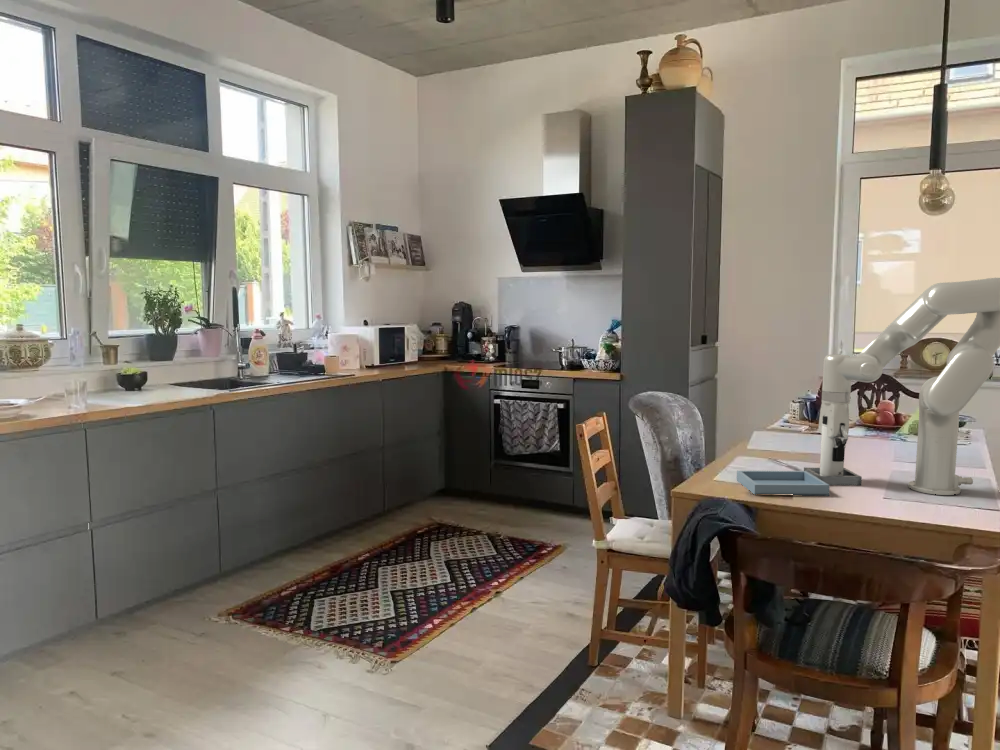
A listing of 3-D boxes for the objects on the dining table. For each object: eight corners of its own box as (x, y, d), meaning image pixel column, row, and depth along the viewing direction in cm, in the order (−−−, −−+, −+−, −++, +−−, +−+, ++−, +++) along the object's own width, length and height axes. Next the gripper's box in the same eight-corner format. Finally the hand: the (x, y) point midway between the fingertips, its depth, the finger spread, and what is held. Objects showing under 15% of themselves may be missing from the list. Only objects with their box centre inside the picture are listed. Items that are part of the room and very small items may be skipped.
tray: (805, 481, 216) (806, 471, 216) (829, 496, 200) (829, 485, 200) (736, 480, 217) (736, 470, 216) (754, 495, 201) (754, 484, 200)
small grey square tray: (843, 475, 223) (844, 467, 222) (861, 485, 212) (861, 476, 211) (803, 475, 223) (804, 467, 222) (818, 485, 212) (819, 476, 212)
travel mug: (846, 483, 214) (850, 414, 211) (822, 482, 215) (825, 414, 213) (841, 478, 220) (844, 411, 217) (817, 477, 221) (820, 410, 219)
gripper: (810, 393, 223) (807, 452, 225) (836, 401, 206) (832, 465, 208) (836, 393, 223) (832, 452, 225) (863, 401, 206) (859, 465, 208)
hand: (832, 458), depth 217 cm, fingers closed on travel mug, 6 cm apart
